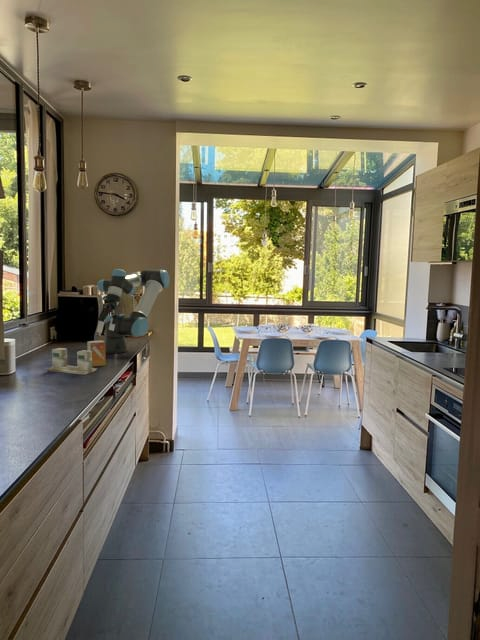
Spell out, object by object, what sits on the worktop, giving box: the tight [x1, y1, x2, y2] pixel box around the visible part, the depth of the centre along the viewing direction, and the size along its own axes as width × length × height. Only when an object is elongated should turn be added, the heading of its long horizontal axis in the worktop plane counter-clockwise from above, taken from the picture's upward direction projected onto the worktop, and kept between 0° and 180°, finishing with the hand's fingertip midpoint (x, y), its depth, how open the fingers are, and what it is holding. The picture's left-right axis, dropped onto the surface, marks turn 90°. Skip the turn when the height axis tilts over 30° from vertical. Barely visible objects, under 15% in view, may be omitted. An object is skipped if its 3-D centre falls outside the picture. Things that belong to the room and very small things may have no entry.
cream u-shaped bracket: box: [47, 347, 98, 375], centre depth 225 cm, size 10×22×11 cm, turn 73°
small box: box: [86, 339, 107, 368], centre depth 238 cm, size 8×6×13 cm
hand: (104, 331), depth 242 cm, fingers open, 13 cm apart
